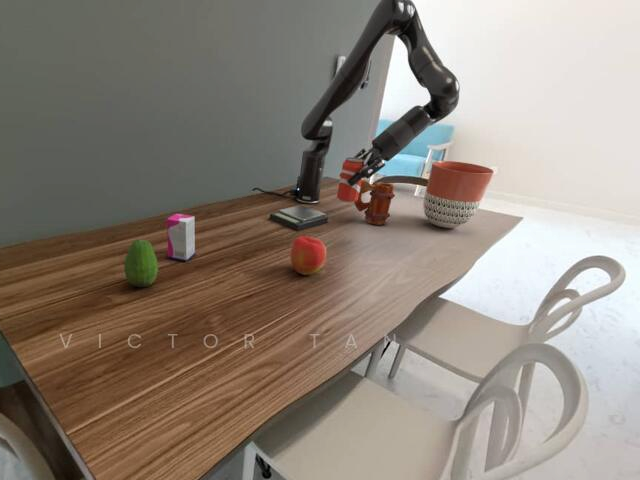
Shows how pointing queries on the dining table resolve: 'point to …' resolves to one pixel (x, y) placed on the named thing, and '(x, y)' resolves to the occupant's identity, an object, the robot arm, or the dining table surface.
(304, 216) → the scale pan
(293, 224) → the scale
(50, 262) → the dining table surface
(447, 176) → the planter
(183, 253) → the supplement box
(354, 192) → the beverage can
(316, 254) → the apple
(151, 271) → the avocado
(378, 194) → the mug
